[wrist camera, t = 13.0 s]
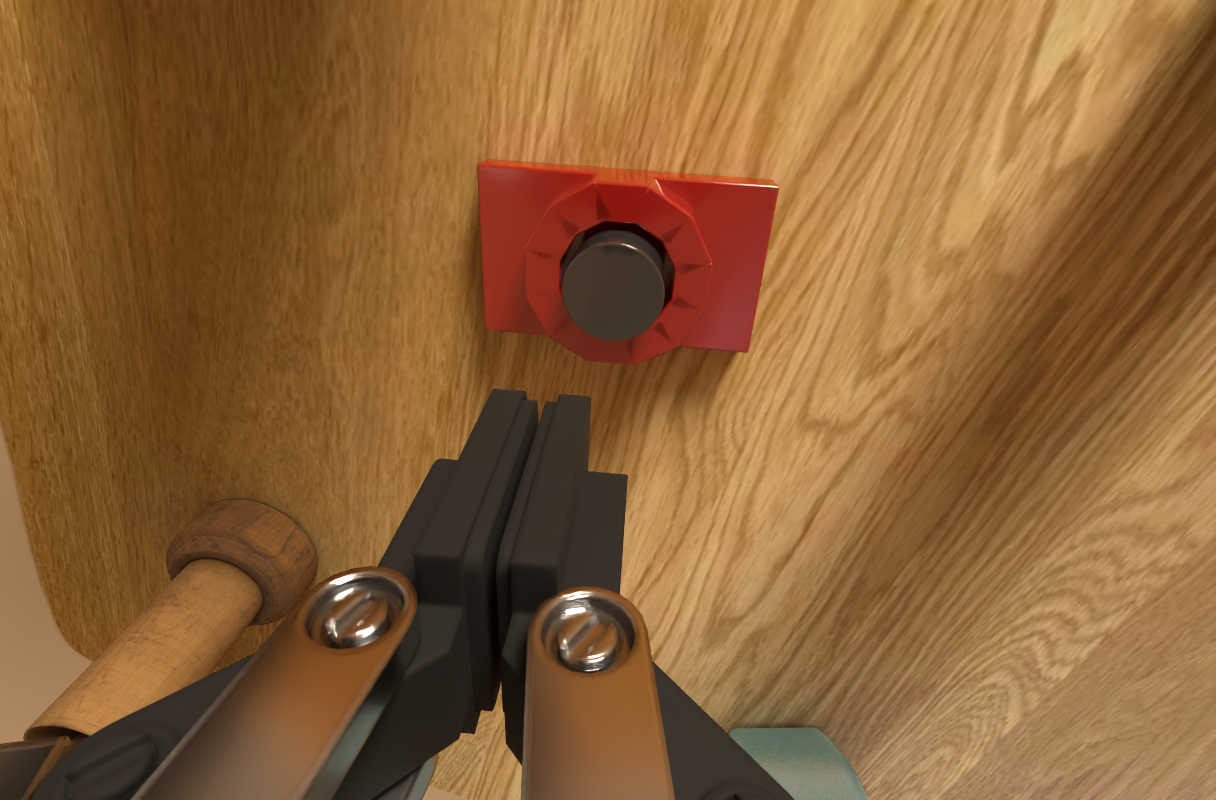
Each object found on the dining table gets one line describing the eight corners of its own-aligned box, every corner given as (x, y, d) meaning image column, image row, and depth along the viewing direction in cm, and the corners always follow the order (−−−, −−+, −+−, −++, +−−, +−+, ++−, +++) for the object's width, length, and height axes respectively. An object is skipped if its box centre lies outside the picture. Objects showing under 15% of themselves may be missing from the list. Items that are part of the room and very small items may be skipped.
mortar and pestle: (213, 476, 30) (-293, 941, 14) (336, 537, 31) (-3, 1026, 15) (183, 556, 33) (-261, 1013, 17) (296, 609, 34) (-20, 1079, 18)
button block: (492, 319, 24) (471, 351, 22) (485, 157, 21) (459, 170, 19) (744, 341, 24) (753, 376, 21) (774, 178, 21) (789, 195, 18)
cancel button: (568, 317, 21) (560, 337, 20) (570, 224, 20) (562, 238, 18) (660, 325, 21) (659, 346, 20) (670, 232, 19) (669, 246, 18)
